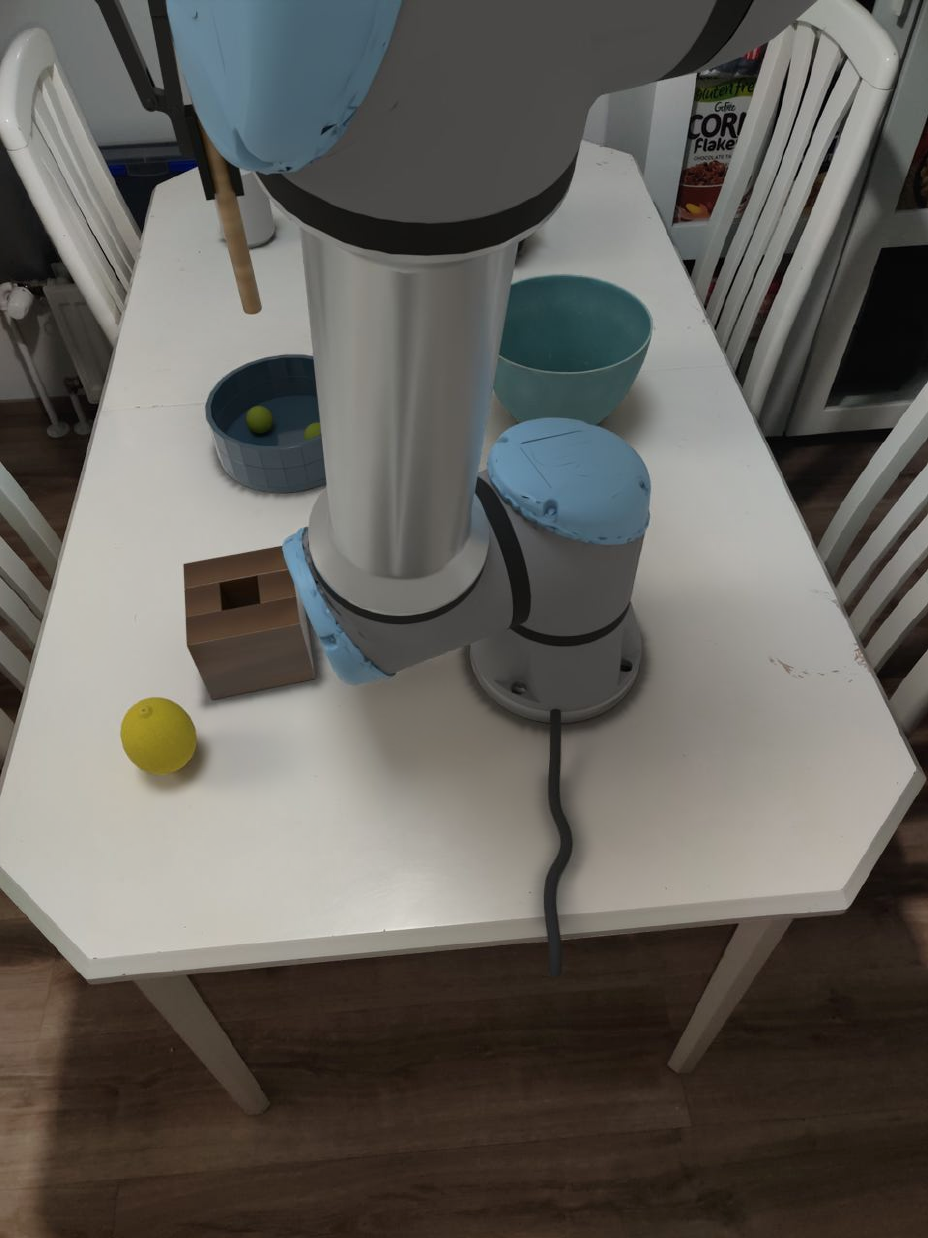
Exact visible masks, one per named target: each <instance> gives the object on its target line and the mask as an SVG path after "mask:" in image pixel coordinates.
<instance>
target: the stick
mask: <svg viewBox="0 0 928 1238" xmlns="http://www.w3.org/2000/svg"><path fill="white" fill-rule="evenodd" d="M188 94H189V97H190V102H191V104H192V106H193V110H194V113H195V117H196V121H197V125H198V129H199V133H200V137H201V141H202V145H203V149H204V153H205V157H206V161H207V165H208V169H209V173H210V177H211V181H212V185H213V189H214V193H215V198H216V202H217V206H218V210H219V214H220V218H221V222H222V226H223V230H224V234H225V238H226V240H225V242H226V246H227V250H228V251H227V252H228V255H229V258H230V262H231V267H232V270H233V273H234V277H235V282H236V286H237V290H238V294H239V299H240V302H241V307H242V310H243V312H244V313H245V314H246V315H256V314H259V313H260V312H261V311H262V310H263V306H262V305H263V304H262V300H261V296H260V292H259V288H258V284H257V279H256V275H255V269H254V266H253V261H252V258H251V253H250V248H248V244H247V239H246V235H245V231H244V226H243V222H242V218H241V213H240V209H239V205H238V200H237V197H236V195H235V191H234V187H233V182H232V178H231V174H230V169H229V165H228V161H227V160H226V159H225V158H224V157H222V156H221V154H220V153H219V152H218V150H217V149H216V147H215V146H214V144H213V143H212V141H211V140H210V138H209V137H208V135H207V133H206V131H205V129H204V127H203V125H202V124H201V121H200V119H199V117H198V115H197V112H196V110H195V107H194V104H193V102H192V99H191V96H190V93H189V92H188ZM225 238H224V239H225Z"/></svg>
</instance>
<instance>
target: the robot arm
mask: <svg viewBox="0 0 928 1238" xmlns="http://www.w3.org/2000/svg"><path fill="white" fill-rule="evenodd" d="M146 1H147V5H148V11H149V17H150V20H151V26H152V31H153V37H154V42H155V46H156V53H157V59H158V62H159V63H158V64H159V69H160V74H161V80H162V84H163V85H162V86H163V88H162V87H158V86H157V87H156V83H155V82H154V79H153V77H152V74H151V72H150V70H149V67H148V65H147V62H146V59H145V58H144V55H143V53H142V51H141V48H140V46H139V44H138V43H139V42H137V39H136V37H135V34H134V32H133V29H132V27H131V24H130V22H129V19H128V17H127V15H126V13H125V11H124V8H123V6H122V3H121V1H120V0H94V2H95V4H97V6H98V8H99V11H100V12H101V15H102V18H103V20H104V22H105V24H106V26H107V28H108V30H109V33H110V36H111V37H112V40H113V42H114V44H115V46H116V49H117V51H118V53H119V55H120V58H121V60H122V62H123V65H124V67H125V70H126V71H127V74H128V76H129V78H130V80H131V83H132V85H133V87H134V89H135V92H136V94H137V97H138V99H139V101H140V103H141V105H142V108H144V110H145V111H147V112H149V113H154V112H159V113H163V114H165V115H167V117H168V118H169V119H170V121H171V125H172V128H173V133H174V137H175V139H176V144H177V147H178V151H179V153H180V155H181V156H182V157H183V158H184V159H186V158H195V162H196V165H197V169H198V173H199V177H200V181H201V185H202V189H203V192H204V193H203V194H204V196H205V201H206V202H208V201H214V200H215V193H214V189H213V185H212V181H211V177H210V173H209V169H208V165H207V161H206V157H205V153H204V149H203V145H202V141H201V137H200V133H199V129H198V125H197V121H196V117H195V113H194V110H193V106H192V102H193V104H194V107H195V110H196V112H197V115H198V117H199V119H200V121H201V124H202V125H203V127H204V129H205V131H206V133H207V135H208V137H209V138H210V140H211V141H212V143H213V144H214V146H215V147H216V149H217V150H218V152H219V153H220V154H221V156H222V157H224V158H225V159H226V160H227V161H228V165H229V169H230V174H231V178H232V182H233V187H234V191H235V195H236V197H238V196H245V195H244V189H243V183H242V178H241V173H240V169H243V170H245V171H251V172H253V173H254V176H255V178H256V179H257V181H258V183H259V185H260V187H261V189H262V190H263V191H264V193H265V194H266V195H267V196H268V198H269V201H271V203H272V204H273V205H274V206H275V207H276V209H278V210H279V211H280V212H281V213H282V214H283V215H284V216H285V217H286V218H287V219H288V220H290V221H291V222H292V223H294V224H295V225H297V226H298V227H299V233H300V242H301V244H300V245H301V251H302V253H301V254H302V263H303V270H304V280H305V281H304V282H305V291H306V300H307V309H308V320H309V329H310V339H311V349H312V356H313V358H314V368H315V377H316V387H317V396H318V406H319V416H320V425H321V435H322V444H323V454H324V463H325V473H326V482H327V483H326V486H325V487H324V489H323V490H322V491H321V492H320V493H319V495H318V496H317V498H316V501H315V502H314V504H313V506H312V509H311V512H310V516H309V519H308V526H305V527H301V528H299V529H298V530H297V531H296V532H295V533H292V534H291V535H289V536H287V537H286V538H285V539H284V540H283V542H282V545H281V546H282V550H283V554H284V558H285V561H286V564H287V566H288V569H289V572H290V574H291V577H292V579H293V581H294V584H295V586H296V589H297V591H298V594H299V596H300V598H301V601H302V603H303V605H304V608H305V613H306V615H307V617H308V619H309V622H310V624H311V626H312V628H313V629H314V631H315V633H316V636H317V638H318V640H319V642H320V644H321V647H322V649H323V652H324V654H325V656H326V658H327V660H328V662H329V664H330V666H331V668H332V670H333V671H334V674H335V675H336V676H337V677H338V679H339V680H340V681H342V683H345V684H347V685H350V686H361V685H365V684H368V683H373V682H375V681H378V680H382V679H383V680H389V679H391V678H394V677H395V676H396V675H397V673H399V672H401V671H403V670H406V669H408V668H411V667H414V666H416V665H419V664H422V663H424V662H426V661H430V660H431V659H434V658H437V657H440V656H443V655H445V654H447V653H450V652H453V651H455V650H457V649H460V648H461V649H462V648H463V647H466V646H468V645H469V659H470V664H471V668H472V671H473V674H474V676H475V678H476V680H477V682H478V683H479V684H480V687H481V688H482V689H483V691H485V693H486V694H487V695H488V696H489V697H490V698H491V699H492V700H493V701H495V703H497V704H498V705H500V706H501V707H503V708H504V709H506V710H507V711H509V712H511V713H513V714H515V715H517V716H520V717H522V718H525V719H528V720H532V721H536V722H541V723H549V759H548V761H549V762H548V779H547V782H548V783H547V792H548V793H547V794H548V796H547V797H548V804H549V809H550V812H551V816H552V818H553V820H554V823H555V825H556V827H557V830H558V832H559V833H558V834H559V837H560V843H559V844H560V845H559V850H558V852H557V855H556V857H555V858H554V861H553V862H552V864H551V865H550V867H549V870H548V872H547V874H546V877H545V881H544V888H543V911H544V920H545V921H544V922H545V927H546V934H547V945H548V972H549V976H551V977H552V978H553V979H555V978H559V977H560V976H561V975H562V968H563V967H562V964H563V961H562V960H563V953H562V952H563V951H562V950H563V949H562V948H563V947H562V937H561V929H560V923H559V917H558V907H557V891H558V884H559V881H560V877H561V875H562V873H563V871H564V869H565V868H566V866H567V864H568V862H569V860H570V858H571V855H572V851H573V845H574V843H573V842H574V841H573V840H574V839H573V834H572V829H571V827H570V824H569V822H568V820H567V817H566V814H565V813H564V810H563V806H562V802H561V801H562V800H561V793H560V792H561V788H560V787H561V786H560V785H561V784H560V783H561V768H562V767H561V766H562V765H561V763H562V724H569V723H575V722H582V721H585V720H589V719H592V718H595V717H597V716H599V715H601V714H604V713H606V712H607V711H610V709H612V708H613V707H615V706H616V705H617V704H618V703H620V702H621V701H622V700H623V699H624V698H625V696H626V695H627V694H628V693H629V691H630V690H631V689H632V687H633V685H634V683H635V682H636V678H637V677H638V673H639V669H640V665H641V660H642V655H643V640H642V633H641V630H640V626H639V622H638V619H637V615H636V613H635V610H634V607H633V603H632V596H633V591H634V586H635V582H636V577H637V571H638V567H639V563H640V558H641V554H642V549H643V545H644V539H645V537H646V535H645V534H646V531H647V529H648V528H649V525H650V521H651V520H650V519H651V513H650V512H651V511H650V504H651V493H652V483H651V482H652V481H651V477H650V473H649V470H648V468H647V466H646V464H645V462H644V460H643V458H642V456H640V454H639V453H638V452H637V451H636V450H635V448H634V447H633V446H632V445H631V444H629V443H628V442H627V441H626V440H625V439H623V438H622V437H620V436H619V435H618V434H616V433H614V432H612V431H611V430H608V429H606V428H604V427H602V426H599V425H591V424H588V423H585V422H584V421H580V420H575V419H569V418H554V417H551V418H539V419H533V420H528V421H525V422H522V423H519V422H518V423H516V424H515V425H513V426H511V427H509V428H507V429H506V430H505V431H503V432H502V433H501V434H500V435H499V436H498V438H497V441H496V442H495V444H493V445H492V447H491V450H490V451H489V454H488V455H487V462H486V466H487V467H486V469H483V470H481V471H480V465H481V459H482V452H483V447H484V441H485V436H486V430H487V424H488V419H489V413H490V407H491V401H492V396H493V391H494V390H493V385H494V379H495V373H496V368H497V362H498V356H499V351H500V345H501V339H502V334H503V328H504V322H505V316H506V311H507V305H508V299H509V294H510V288H511V283H513V282H512V281H513V277H514V270H515V265H516V259H517V255H518V254H517V248H518V242H520V241H521V240H523V239H524V238H525V239H526V238H528V237H529V236H531V235H532V234H534V233H535V232H537V231H538V230H539V229H540V228H542V227H543V226H544V225H545V224H546V223H547V222H548V221H550V219H552V217H553V216H554V215H555V213H556V212H557V211H558V210H559V208H560V207H561V206H562V205H563V202H564V200H565V199H566V197H567V195H568V193H569V191H570V188H571V185H572V181H573V178H574V175H575V172H576V166H577V161H578V157H579V152H580V148H581V144H582V140H583V137H584V134H585V127H586V124H587V119H588V116H589V112H590V109H591V108H592V107H593V105H594V104H595V103H596V101H597V100H598V99H599V98H600V97H601V96H603V95H608V94H612V93H619V92H621V91H626V90H631V89H634V88H640V87H643V86H647V85H650V84H653V83H657V82H661V81H667V80H671V79H675V78H679V77H683V76H688V75H692V74H697V73H702V72H706V71H708V70H712V69H714V68H717V67H719V66H722V65H724V64H727V63H729V62H732V61H734V60H737V59H739V58H742V57H743V56H745V55H747V54H749V53H751V52H753V51H754V50H756V49H758V48H761V46H764V45H765V44H767V43H769V42H770V41H772V40H774V39H775V38H777V37H778V36H779V35H780V34H782V32H784V31H785V30H786V29H787V28H789V27H790V26H791V25H792V24H793V23H794V22H795V21H797V20H798V19H799V18H800V17H801V16H802V15H804V14H805V12H807V11H808V10H809V9H810V8H811V7H812V6H814V4H816V3H817V2H818V1H819V0H146ZM177 59H178V62H179V66H180V69H181V72H182V75H183V80H184V82H185V85H186V89H187V90H188V94H189V93H190V94H189V97H190V96H191V98H190V100H191V99H192V102H191V103H190V104H185V103H184V97H183V90H182V85H181V80H180V79H181V78H180V73H179V68H178V62H177ZM239 168H240V169H239ZM516 254H517V255H516Z"/></svg>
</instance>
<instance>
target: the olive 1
mask: <svg viewBox="0 0 928 1238" xmlns="http://www.w3.org/2000/svg"><path fill="white" fill-rule="evenodd" d="M246 424H247V426H248V428H249V429H250V430H251V431H252V432H254V433H257V434H263V433H266V432H268V431H269V430H270V429H271V427H272V425H273V416H272V414H271V412H270V411H269V410H268V409H267V408H265V407H262V406H255V407H253V408H251V409H250V410H249V411H248V412H247V414H246Z"/></svg>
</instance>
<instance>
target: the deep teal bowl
mask: <svg viewBox="0 0 928 1238" xmlns="http://www.w3.org/2000/svg"><path fill="white" fill-rule="evenodd" d="M653 320H654V319H653V317H652V315H651V312H650V310H649V309H648V306H646V304H645V303H644V302H643V301H642V300H641V299H640V298H639V297H637V296H636V295H635V294H634V293H633V292H631V291H630V290H628V289H626V288H624V287H622V286H620V285H618V284H615V283H613V282H611V281H608V280H604V279H601V278H597V277H593V276H587V275H582V274H572V273H571V274H569V273H553V274H552V273H551V274H542V275H536V276H531V277H526V278H522V279H519V280H516V281H513V282H511V288H510V294H509V299H508V305H507V311H506V316H505V322H504V328H503V334H502V339H501V345H500V351H499V356H498V362H497V368H496V373H495V379H494V385H493V390H492V391H493V393H495V395H496V397H497V399H498V400H499V402H500V403H501V405H502V406H503V407H504V408H505V409H506V411H507V412H508V413H509V414H510V415H511V416H512V417H513V418H514V419H515V420H516V421H517V422H518V424H519V423H522V422H525V421H528V420H533V419H539V418H551V417H554V418H569V419H575V420H580V421H584V422H585V423H588V424H591V425H595V426H597V425H598V424H599V423H600V422H602V421H603V420H604V419H605V418H607V417H608V416H609V415H610V414H612V412H613V411H614V410H615V409H616V408H617V407H618V405H620V403H621V402H622V401H623V400H624V398H625V396H626V395H627V394H628V392H629V391H630V390H631V387H632V386H633V384H634V382H635V381H636V379H637V377H638V375H639V373H640V371H641V369H642V366H643V364H644V362H645V359H646V356H647V354H648V351H649V347H650V344H651V340H652V335H653V330H654V322H653Z"/></svg>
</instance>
